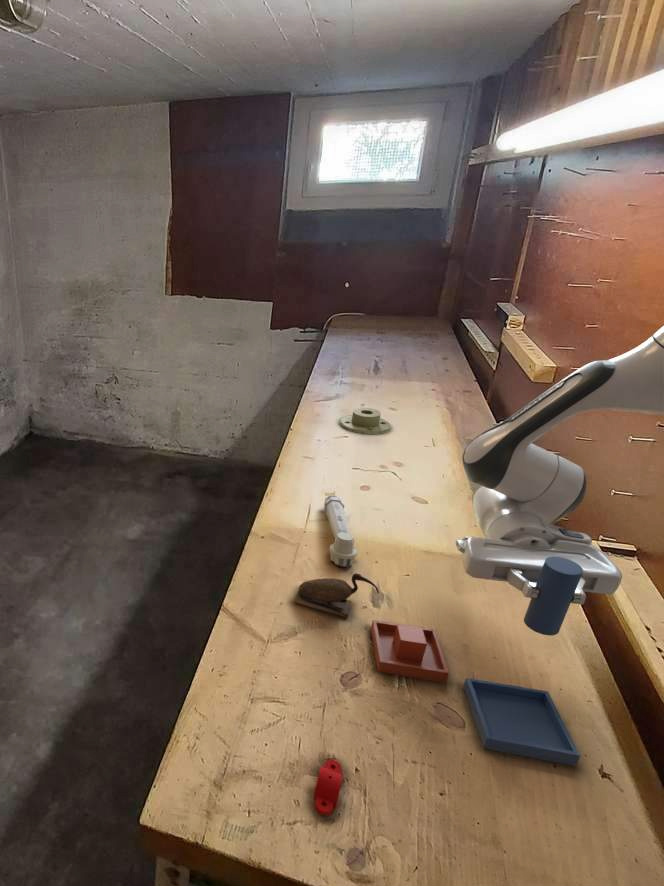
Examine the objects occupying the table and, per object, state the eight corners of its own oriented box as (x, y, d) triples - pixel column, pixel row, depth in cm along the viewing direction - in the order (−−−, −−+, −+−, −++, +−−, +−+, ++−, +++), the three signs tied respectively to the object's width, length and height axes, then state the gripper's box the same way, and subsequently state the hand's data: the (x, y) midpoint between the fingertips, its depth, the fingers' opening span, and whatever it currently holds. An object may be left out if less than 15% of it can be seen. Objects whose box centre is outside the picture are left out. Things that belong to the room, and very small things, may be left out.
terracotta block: (417, 645, 96) (422, 627, 95) (422, 662, 93) (427, 644, 91) (392, 641, 97) (396, 623, 96) (396, 658, 94) (400, 640, 92)
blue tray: (544, 700, 86) (548, 691, 85) (575, 766, 76) (580, 755, 75) (462, 687, 89) (466, 677, 88) (483, 748, 79) (487, 738, 78)
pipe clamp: (333, 819, 71) (335, 808, 70) (310, 809, 72) (312, 798, 71) (344, 767, 77) (346, 757, 76) (323, 759, 78) (325, 748, 77)
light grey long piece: (344, 495, 137) (361, 539, 113) (341, 520, 139) (357, 568, 116) (322, 493, 138) (334, 536, 115) (319, 518, 140) (330, 565, 117)
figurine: (375, 611, 105) (383, 573, 101) (371, 625, 102) (379, 587, 98) (299, 589, 112) (304, 553, 108) (293, 602, 108) (298, 565, 104)
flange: (384, 404, 189) (338, 404, 191) (397, 421, 176) (348, 420, 178) (382, 417, 192) (336, 416, 193) (395, 434, 178) (346, 433, 180)
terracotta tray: (432, 638, 98) (435, 629, 98) (446, 682, 90) (449, 673, 89) (370, 628, 101) (372, 619, 100) (377, 671, 92) (380, 661, 91)
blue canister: (552, 617, 86) (575, 558, 81) (564, 637, 82) (589, 577, 77) (519, 613, 87) (540, 554, 82) (529, 632, 83) (552, 572, 78)
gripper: (457, 520, 94) (480, 569, 82) (600, 535, 89) (647, 590, 77) (448, 552, 97) (470, 603, 85) (587, 568, 92) (631, 625, 80)
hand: (556, 597), depth 81 cm, fingers closed on blue canister, 4 cm apart
